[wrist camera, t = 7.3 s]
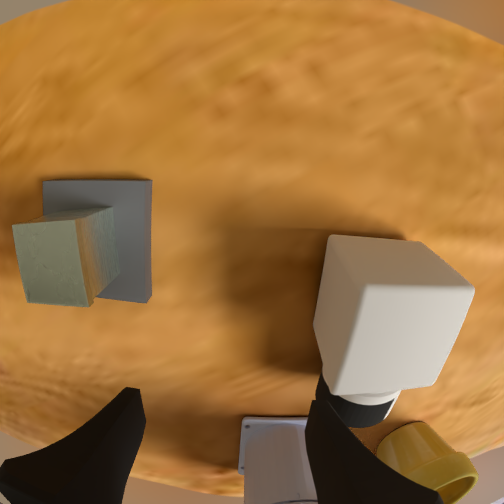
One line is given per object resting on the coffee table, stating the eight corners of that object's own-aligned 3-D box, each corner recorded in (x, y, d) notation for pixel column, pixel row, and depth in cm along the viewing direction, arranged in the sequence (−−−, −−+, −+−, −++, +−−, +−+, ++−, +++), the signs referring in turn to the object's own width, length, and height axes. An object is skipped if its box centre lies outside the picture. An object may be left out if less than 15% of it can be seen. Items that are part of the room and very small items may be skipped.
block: (154, 291, 22) (146, 303, 20) (63, 280, 22) (50, 289, 20) (155, 179, 20) (145, 181, 18) (57, 179, 19) (42, 181, 17)
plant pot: (397, 471, 29) (419, 528, 19) (340, 461, 27) (359, 533, 18) (457, 418, 26) (493, 474, 17) (408, 399, 25) (449, 472, 15)
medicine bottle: (327, 232, 19) (301, 373, 24) (362, 286, 13) (312, 443, 17) (421, 240, 20) (380, 370, 24) (479, 288, 13) (406, 432, 17)
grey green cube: (121, 274, 19) (88, 307, 15) (66, 274, 19) (27, 302, 14) (113, 205, 18) (74, 219, 13) (56, 209, 18) (11, 224, 13)
